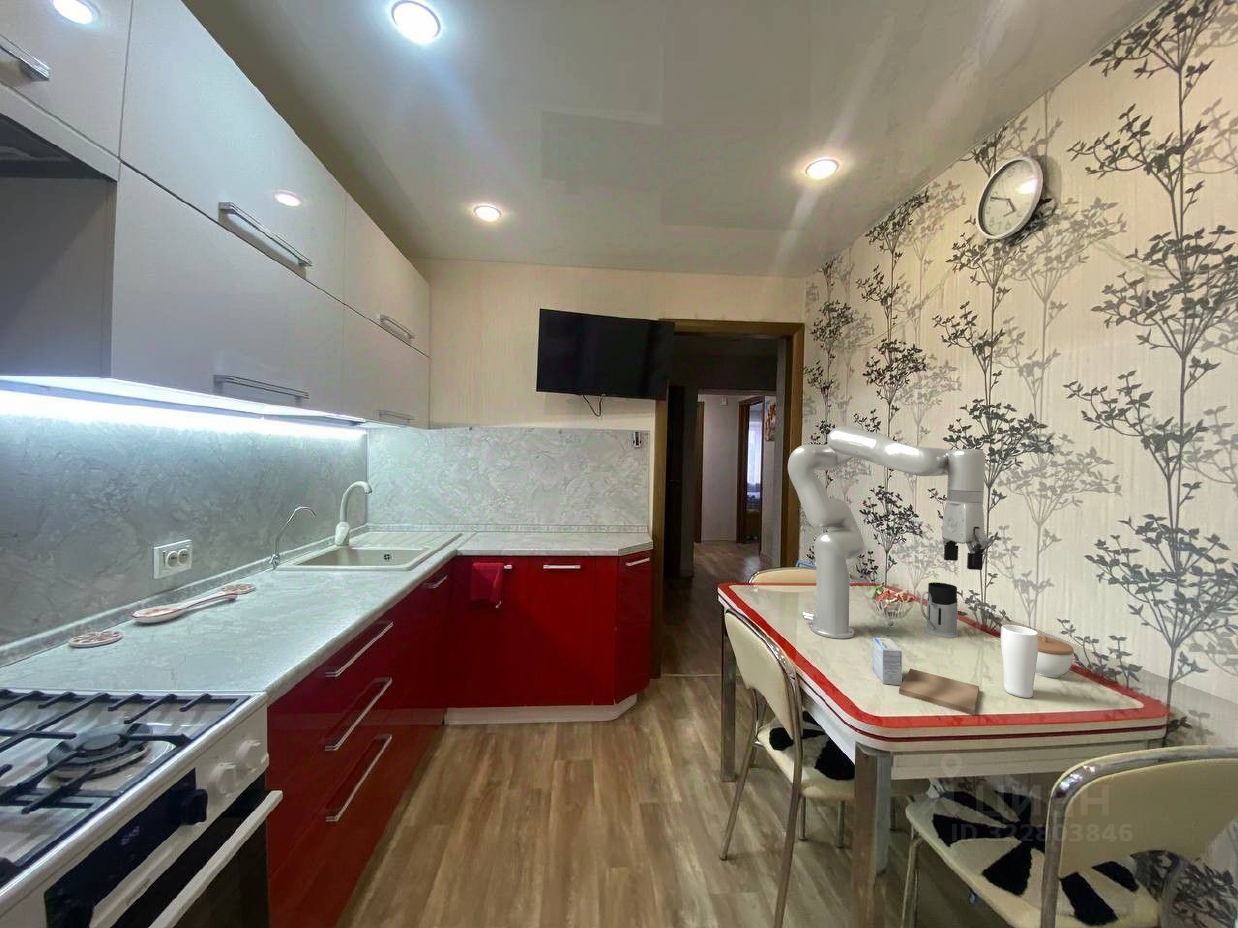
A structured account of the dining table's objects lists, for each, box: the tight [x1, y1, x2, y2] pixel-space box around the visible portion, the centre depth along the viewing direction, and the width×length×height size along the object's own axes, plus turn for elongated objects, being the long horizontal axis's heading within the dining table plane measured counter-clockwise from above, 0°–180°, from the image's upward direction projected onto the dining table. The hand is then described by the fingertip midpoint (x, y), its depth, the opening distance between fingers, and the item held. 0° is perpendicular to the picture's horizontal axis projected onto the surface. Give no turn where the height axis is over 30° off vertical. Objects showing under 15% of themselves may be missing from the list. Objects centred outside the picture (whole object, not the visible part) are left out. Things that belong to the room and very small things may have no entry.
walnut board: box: [898, 668, 980, 716], centre depth 111 cm, size 14×14×1 cm
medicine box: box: [871, 637, 903, 687], centre depth 118 cm, size 8×4×9 cm, turn 168°
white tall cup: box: [1000, 624, 1039, 699], centre depth 111 cm, size 7×7×15 cm
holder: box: [919, 581, 959, 639], centre depth 149 cm, size 9×14×15 cm, turn 113°
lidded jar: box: [1035, 635, 1074, 679], centre depth 123 cm, size 11×11×9 cm
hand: (962, 564), depth 121 cm, fingers open, 9 cm apart
